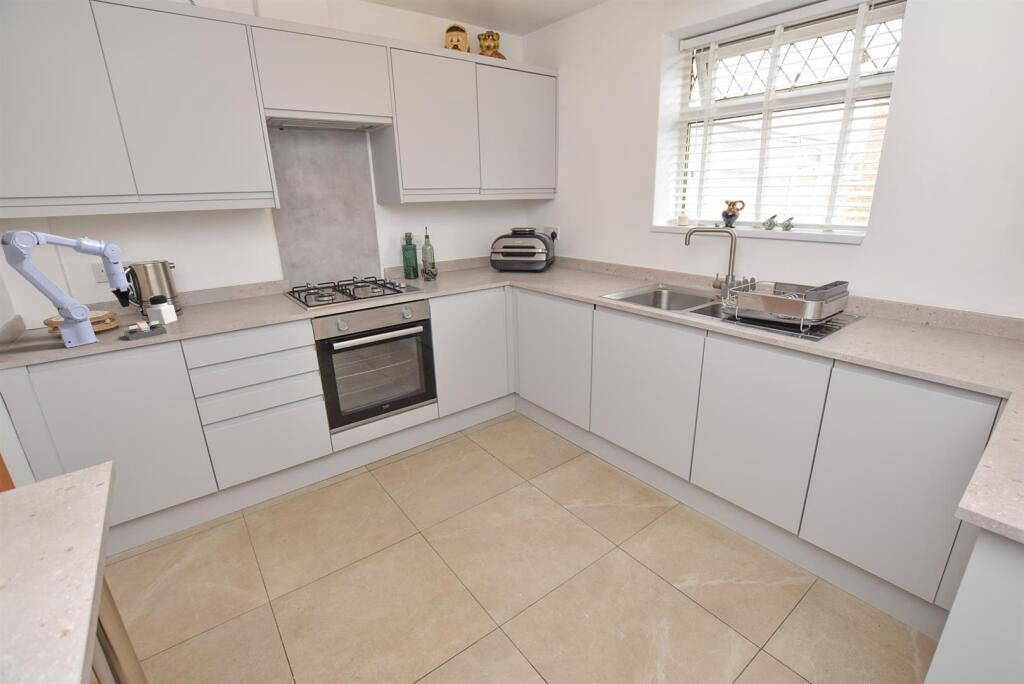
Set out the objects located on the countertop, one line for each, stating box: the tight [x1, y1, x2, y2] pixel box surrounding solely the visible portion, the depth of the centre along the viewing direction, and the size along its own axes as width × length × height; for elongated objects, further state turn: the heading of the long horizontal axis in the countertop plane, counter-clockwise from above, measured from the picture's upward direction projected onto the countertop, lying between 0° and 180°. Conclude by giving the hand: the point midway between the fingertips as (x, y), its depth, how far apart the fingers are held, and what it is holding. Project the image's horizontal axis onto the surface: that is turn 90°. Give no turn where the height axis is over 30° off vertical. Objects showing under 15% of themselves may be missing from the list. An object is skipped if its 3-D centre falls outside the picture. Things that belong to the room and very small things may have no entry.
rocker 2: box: [136, 320, 150, 331], centre depth 188 cm, size 3×6×1 cm, turn 48°
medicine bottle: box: [146, 294, 178, 326], centre depth 205 cm, size 7×7×12 cm
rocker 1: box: [126, 324, 139, 331], centre depth 185 cm, size 3×6×1 cm, turn 48°
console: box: [122, 324, 168, 341], centre depth 189 cm, size 12×10×2 cm
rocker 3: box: [147, 321, 159, 327], centre depth 190 cm, size 3×6×1 cm, turn 48°
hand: (125, 306), depth 192 cm, fingers closed
